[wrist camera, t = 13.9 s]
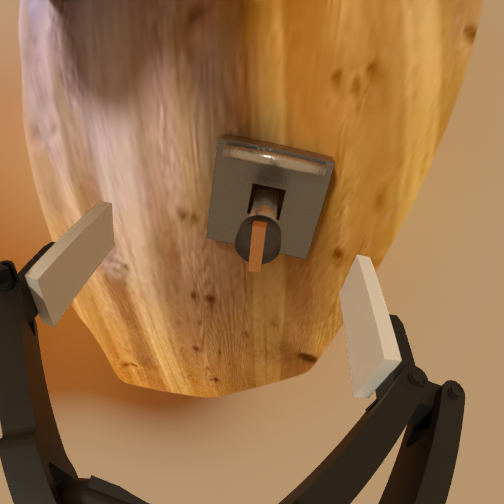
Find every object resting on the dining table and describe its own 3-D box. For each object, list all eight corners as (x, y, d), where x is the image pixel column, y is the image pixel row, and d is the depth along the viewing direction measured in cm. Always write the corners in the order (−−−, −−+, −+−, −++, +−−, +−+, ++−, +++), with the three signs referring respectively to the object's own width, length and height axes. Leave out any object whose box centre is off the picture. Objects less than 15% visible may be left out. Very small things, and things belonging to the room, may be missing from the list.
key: (252, 175, 39) (234, 223, 27) (286, 179, 39) (284, 230, 27) (249, 209, 41) (231, 268, 30) (281, 213, 41) (276, 275, 29)
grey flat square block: (210, 229, 44) (203, 244, 40) (223, 134, 36) (215, 140, 33) (305, 249, 44) (306, 265, 40) (332, 157, 36) (336, 166, 33)
